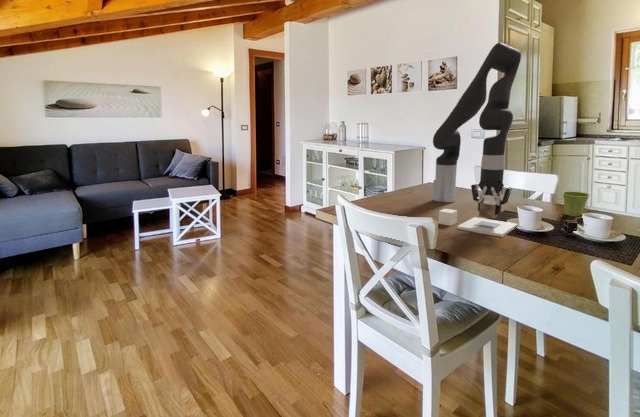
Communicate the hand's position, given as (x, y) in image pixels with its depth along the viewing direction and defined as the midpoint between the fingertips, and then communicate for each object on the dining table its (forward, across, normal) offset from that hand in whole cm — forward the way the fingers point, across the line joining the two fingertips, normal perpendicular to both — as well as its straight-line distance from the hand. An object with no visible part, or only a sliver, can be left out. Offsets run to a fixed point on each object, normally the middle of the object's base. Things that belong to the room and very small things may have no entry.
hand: (489, 213), depth 152 cm
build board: (+5, 0, 0) cm, 5 cm away
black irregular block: (+6, +24, +11) cm, 27 cm away
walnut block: (+1, 0, 0) cm, 1 cm away
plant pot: (+6, +20, +38) cm, 43 cm away
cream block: (+5, -14, -3) cm, 16 cm away
